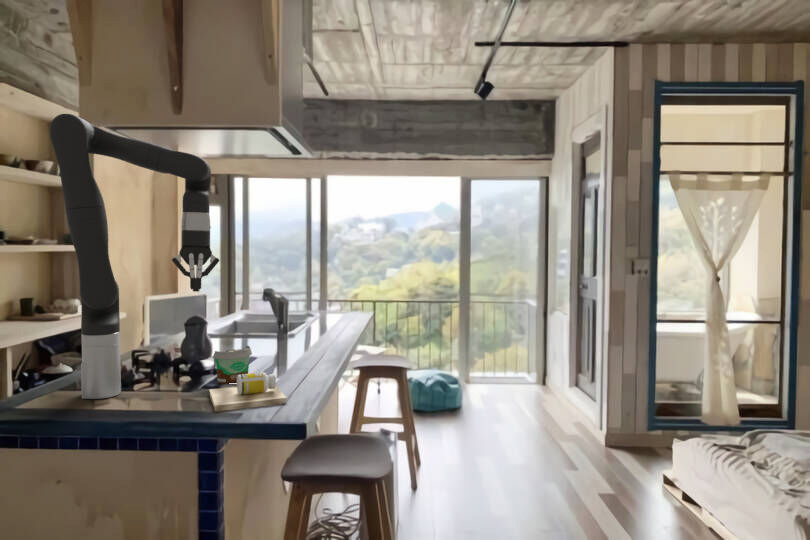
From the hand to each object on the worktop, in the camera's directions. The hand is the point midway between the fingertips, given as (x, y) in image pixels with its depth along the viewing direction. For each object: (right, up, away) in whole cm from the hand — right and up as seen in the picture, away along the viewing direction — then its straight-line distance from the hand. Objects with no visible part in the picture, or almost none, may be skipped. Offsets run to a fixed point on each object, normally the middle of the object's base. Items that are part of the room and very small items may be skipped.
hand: (195, 291), depth 156 cm
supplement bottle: (+14, -25, -7) cm, 29 cm away
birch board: (+16, -29, -5) cm, 33 cm away
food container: (+8, -28, +12) cm, 32 cm away
